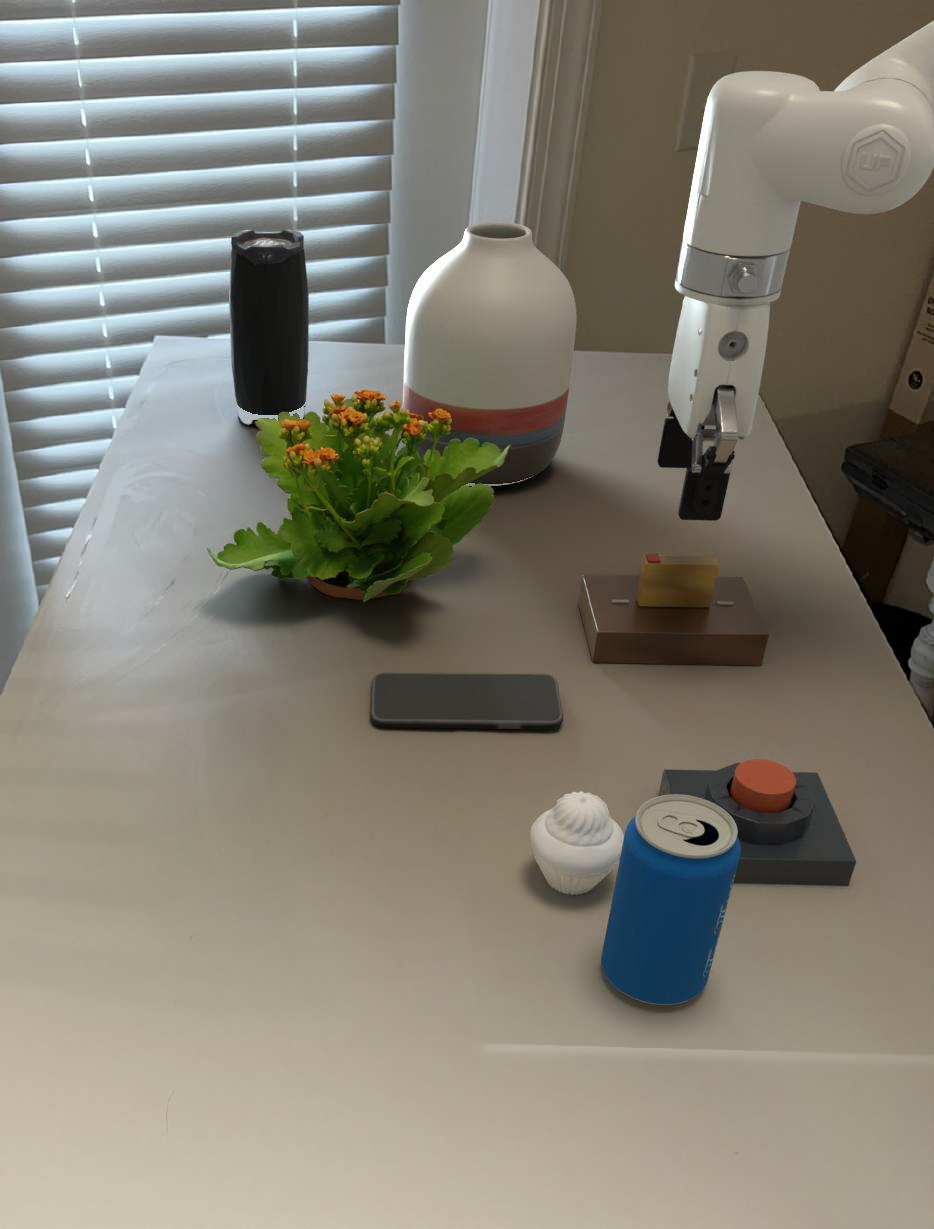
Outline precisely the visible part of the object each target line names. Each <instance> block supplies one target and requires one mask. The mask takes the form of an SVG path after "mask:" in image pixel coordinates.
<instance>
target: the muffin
mask: <svg viewBox="0 0 934 1229" xmlns="http://www.w3.org/2000/svg"><path fill="white" fill-rule="evenodd" d="M624 835H625V834H624V832H623V830H622V828H621V826H620V825H619V824H618V823H617V822H616V821H615V820H614V819H613V818H612V817H611V816H610V811H609V807H608V805H607V804H606V802H605V801H604V800H602V799H601V797H600V796H598V795H595V794H593V793H591V792H584V791H582V790H581V791H579V792H577V791H572V792H571V793H565V794H564V795H563V796H562V797H559V799H557V800H556V804H555V805H554V806H553V807H552V808H551V809H548V810H546V811H545V812H543V813H541V814H540V815H539V816H538V817H537V818H536V819H535V821H534V822H533V823H532V825H531V827H530V831H529V840H530V845H531V847H532V854H533V856H534V860H535V861H536V863H537V865H538V867H539V869H540V871H541V873H542V875H543V876H544V878H545V880H546V882H547V884H548V885H549V886H550V887H551V888H552V889H554V890H555V891H558V892H559V893H562V894H564V895H570V896H574V895H576V896H578V895H583V894H586V893H589V892H590V891H591V890H593V889H594V888H595V887H596V886H597V885H598V884H599V883H600V882H601V881H602V880H603V879H605V877H607V876H608V874H610V873H611V872H612V871H613V868H615V867H616V864H617V863H619V861H620V856H621V850H622V845H623V840H624Z"/></svg>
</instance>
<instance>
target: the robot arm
mask: <svg viewBox="0 0 934 1229" xmlns="http://www.w3.org/2000/svg"><path fill="white" fill-rule="evenodd" d="M698 142H699V143H698V147H697V154H696V159H695V164H694V171H693V177H692V183H691V189H690V195H689V201H688V207H687V212H686V217H685V223H684V229H683V230H684V231H683V237H682V242H681V245H680V246H681V247H680V253H679V259H678V264H677V270H676V275H675V281H674V288H675V291H677V292H678V293H679V294H681V295H683V296H684V298H683V300H682V306H681V311H680V314H679V315H680V316H679V320H678V324H677V328H676V335H675V339H674V344H673V350H672V354H671V361H670V365H669V373H668V382H667V396H668V403H667V406H666V417H667V418H666V417H665V418H664V421H663V427H662V433H661V439H660V444H659V449H658V454H657V464H658V466H659V468H664V469H665V468H666V469H685V474H684V479H683V485H682V490H681V495H680V500H679V506H678V511H677V514H678V517H679V519H680V520H682V521H709V522H710V521H711V522H712V521H715V522H716V521H719V520H720V519H721V518H722V513H723V510H724V504H725V501H726V500H725V499H726V495H727V490H728V486H729V481H730V476H731V473H732V469H733V460H734V459H735V458H736V454H735V453H736V451H735V449H736V448H735V447H736V445H737V444H738V440H742V441H743V440H747V439H748V438H749V437H750V435H751V434H752V431H753V427H754V422H755V417H756V416H755V415H756V410H757V405H758V399H759V393H760V388H761V382H762V376H763V371H764V364H765V357H766V351H767V343H768V338H769V337H768V336H769V326H770V316H771V315H770V312H771V303H772V302H775V301H776V300H778V299H780V297H781V293H782V288H783V283H784V279H785V274H786V270H787V265H788V261H789V258H790V253H791V248H792V243H793V238H794V234H795V229H796V224H797V222H798V221H797V220H798V216H799V212H800V207H801V203H802V202H804V203H808V204H812V205H816V206H820V207H823V208H827V209H831V210H835V211H839V212H842V213H843V212H844V213H848V214H854V215H875V214H881V213H886V212H889V211H892V210H894V209H896V208H898V207H900V206H902V205H903V204H905V203H907V202H908V201H910V200H911V199H912V198H913V197H915V196H916V194H918V193H919V191H920V190H922V188H923V187H924V185H925V184H926V183H927V181H928V179H929V177H930V176H931V175H932V173H933V170H934V20H933V21H931V22H929V23H927V24H926V25H925V26H923V27H921V28H920V29H917V30H916V31H915V32H913V33H912V34H910V35H908V36H906V38H904V39H902V40H901V41H899V42H897V43H896V44H894V45H892V46H891V47H890V48H888V49H886V50H884V51H883V52H881V53H880V54H878V55H877V56H875V57H873V58H872V59H871V60H869V61H868V62H866V63H865V64H863V65H862V66H860V67H859V68H857V69H856V70H855V71H853V72H852V73H851V74H849V75H848V76H847V77H846V78H845V79H844V80H842V82H841V83H840V84H838V86H837V87H836V88H835V89H834V90H831V91H830V90H828V91H827V90H820V87H819V86H818V85H817V84H816V82H814V80H811V78H810V79H809V78H808V77H806V76H803V75H799V74H794V73H788V72H781V71H772V70H771V71H769V70H749V71H738V72H733V73H730V74H727V75H724V76H723V77H721V78H720V79H718V80H717V81H716V82H715V83H714V84H713V85H712V88H711V89H710V91H709V94H708V95H707V99H706V104H705V109H704V113H703V119H702V125H701V130H700V138H699V141H698ZM706 426H708V427H709V426H710V427H711V426H714V427H715V428H705V427H706ZM704 442H707V443H708V442H710V443H711V442H713V445H709V446H708V447H707V449H706V450H705V451H704Z"/></svg>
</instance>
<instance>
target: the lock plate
mask: <svg viewBox="0 0 934 1229" xmlns="http://www.w3.org/2000/svg"><path fill="white" fill-rule="evenodd" d="M639 576H640V574H639V575H638V574H582V576H581V577H582V578H581V582H580V583H581V584H580V590H579V598H578V607H579V611H580V617H581V620H582V624H583V628H584V633H585V636H586V640H587V645H588V649H589V654H590V657H591V662H592V663H594V664H596V663H597V664H599V663H600V664H643V665H647V664H648V665H694V666H695V665H696V666H697V665H698V666H699V665H700V666H702V665H703V666H748V667H749V666H756V667H757V666H758V667H761V666H762V665H763V661H764V657H765V653H766V648H767V645H768V640H769V638H770V637H769V636H770V633H769V632H768V630H767V628H766V625H765V623H764V621H763V618H762V616H761V614H760V612H759V609H758V607H757V605H756V603H755V600H754V598H753V596H752V594H751V592H750V590H749V588H748V585H747V584H746V581H745V579H744V577H743V576H717V577H716V582H715V586H714V591H713V596H712V601H711V605H710V608H703V607H643V606H639V605H638V602H637V599H636V594H637V588H638V582H639Z"/></svg>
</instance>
